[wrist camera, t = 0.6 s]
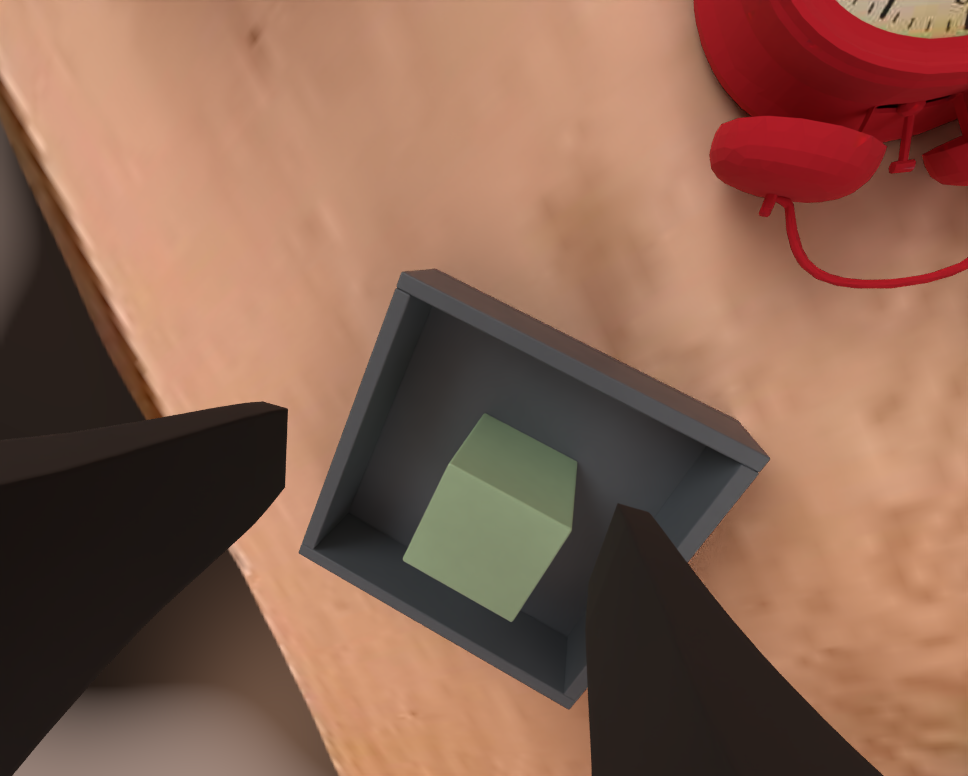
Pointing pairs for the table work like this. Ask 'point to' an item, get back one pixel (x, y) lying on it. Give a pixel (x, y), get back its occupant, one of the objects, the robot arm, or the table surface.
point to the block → (496, 517)
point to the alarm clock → (835, 99)
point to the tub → (546, 418)
